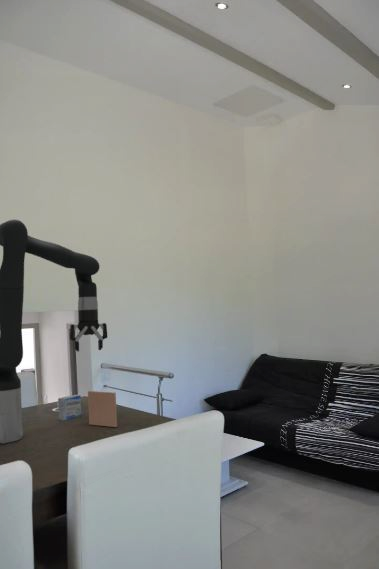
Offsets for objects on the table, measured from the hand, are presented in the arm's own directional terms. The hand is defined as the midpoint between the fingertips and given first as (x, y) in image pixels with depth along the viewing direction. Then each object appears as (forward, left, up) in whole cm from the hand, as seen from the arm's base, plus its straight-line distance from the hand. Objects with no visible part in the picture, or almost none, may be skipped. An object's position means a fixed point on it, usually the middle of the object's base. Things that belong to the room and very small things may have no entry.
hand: (88, 350), depth 183 cm
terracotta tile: (-6, -11, -26) cm, 29 cm away
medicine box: (0, +11, -27) cm, 29 cm away
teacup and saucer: (+14, +25, -28) cm, 40 cm away
